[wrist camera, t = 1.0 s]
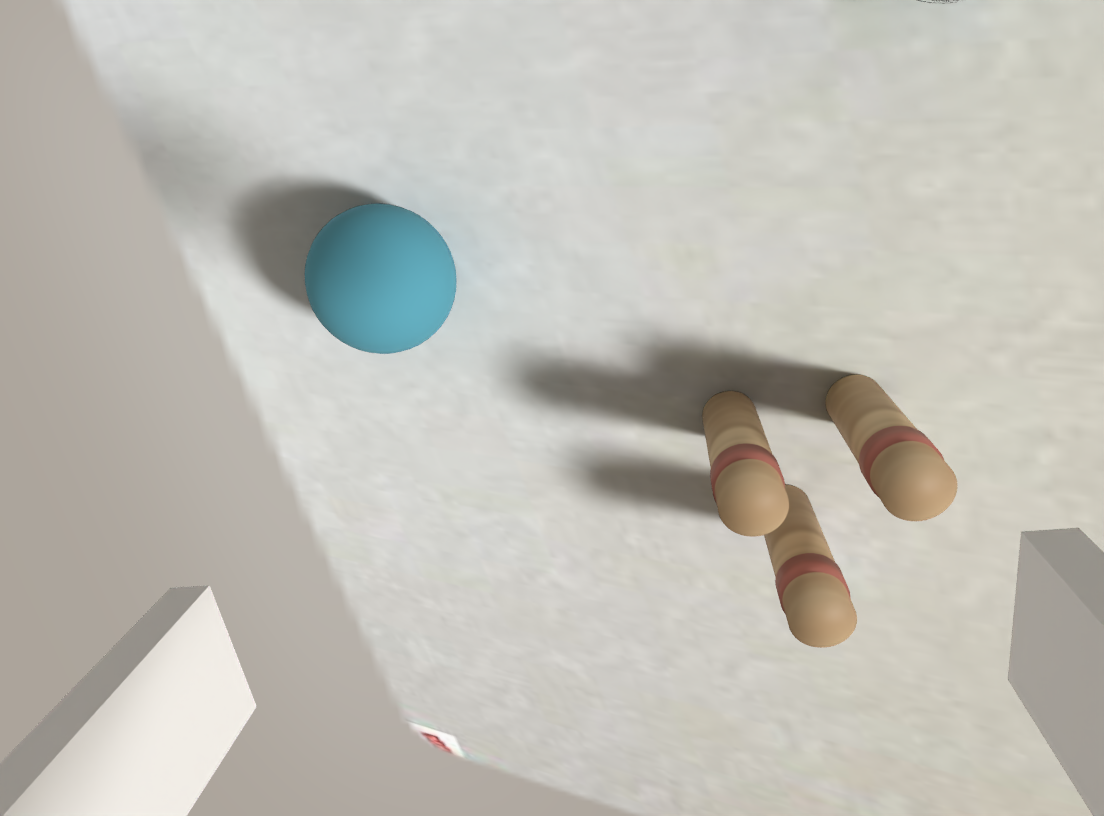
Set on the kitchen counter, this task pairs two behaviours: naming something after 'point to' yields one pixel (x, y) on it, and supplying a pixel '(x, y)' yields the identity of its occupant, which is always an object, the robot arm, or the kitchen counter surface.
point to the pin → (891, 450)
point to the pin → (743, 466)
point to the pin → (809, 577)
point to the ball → (380, 278)
